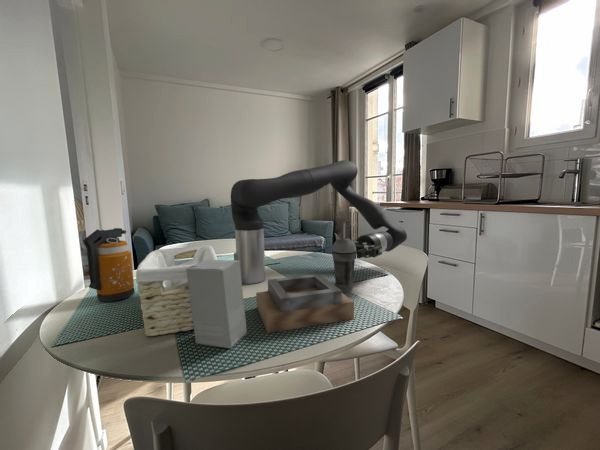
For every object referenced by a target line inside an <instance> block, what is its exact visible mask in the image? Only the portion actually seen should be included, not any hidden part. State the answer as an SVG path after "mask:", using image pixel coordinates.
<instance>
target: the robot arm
mask: <svg viewBox="0 0 600 450" xmlns="http://www.w3.org/2000/svg"><path fill="white" fill-rule="evenodd" d="M358 170H359V169H358V167H357V165H356V164H355V163H354V162H352V161H350V160H338V161H336V162H332V163H328V164H326V165H320V166H315V167H310V168H305V169H299V170H294V171H290V172H287V173H284V174H282V175H279V176H277V177H271V178H269V177H268V178H250V179H249V178H248V179H241V180H237V181H236V182H235V183H234V184H233V185H232V186H231V191H230V206H231V217H232V222H233V224H234V233H235V234H234V235H235V237H234V238H235V252H234V253H233V260H237V261H239V262H240V272H241V281H242V284H246V285H248V284H249V285H251V284H258V283H262V282H264V281H265V280H266V264H265V262H266V260H265V234H264V233H265V232H264V230H265V229H264V220H263V219H262V217H260V214H259V211H258V210H259V209H258V208H260V207H262V206H266V205H268V204H270V203H273V202H276V201H280V200H285V199H286V200H287V199H293V198H299V197H303V196H304V197H305V196H309V195H311V194H314V193H316V192H318V191H319V190H321V189H323V188H324V187H326V186H328V185H331V187H332V188H333V189H334V190H335V191H336V192H337V193H338V194H339V195H341V196H342V197H343V199H345V200H346V201H347V202H348V203H349V204H350V205H351V206H352V207H354V208H355V209H356V210H357V211H358V212H359V213H360V215H361V216H362V217H363V218H364V220H366V223H368V225H369V226H370V227H371V229H373V230H378V229H380V228H383V227H385V228H386V229H387V230H385V231H378V232H370V233H367V234H362V235H359V237H357V239H355V241H354V240H353V242H354V244H355V246H356V250H357V253H356V258H357V259H362V258H364V259H369V258H376V257H379V256H381V255H383V252H391V251H393V250H394V249H396V248H397V247H398V246H400V245H401V244H403V243H404V242H405V241H407V240H408V239H407V237H408V234H407V231H406V230H405V229H404V228H403V227H402V226H400V225H399V224H397V223H396V222H395V221H393V220H392V219H390V218H389V216H387V214H385V213H384V211H383V210H382V209H381V208H380V207H379V205H378V204H377V203H376V202H375V201H373V200H371V199H369V198H368V197H364V196H362V195H360V194H358V193H357V192H356V191H354V189H353V188H352V187H351V184H352V183H353V182H354V180H355V179H356V178H357V176H358V173H359V172H358Z"/></svg>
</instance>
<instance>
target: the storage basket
mask: <svg viewBox="0 0 600 450" xmlns="http://www.w3.org/2000/svg"><path fill="white" fill-rule="evenodd" d="M176 259H177V260H178V259H190V260H188V261H185V262H184V263H181V264H176V261H175V260H176ZM204 260H219V259H218V257H217V254H216V252H215V249H214V248H213V246H212V245H210V244H209V245H208V244H206V245H200V246H198V245H197V246H186V247H185V246H184V247H183V246H182V247H176V248H164V249H163V248H161V249H156V250H155V249H154V250H153V251H151V252H149V253H148V254H147V255H146V256H145V257H144V259H143V260H142V261H141V262H140V263H139V264H138V266H137V269H136V272H135V273H136V274H135V277H136V279H135V283H137V292H139V293H138V296H139V299H140V310H141V311H142V320H143V326H144V327H143V328H144V330H145V331H144V332H143V334H144V335H145V336H147V337H154V336H155V337H156V336H159V335H161V336H163V335H167V334H175V333H179V332H188V331H191V330H194V325H193V317H192V309H191V302H190V293H189V286H188V279H187V271H186V268H188V267H191V266H193V265H195V264H198V263H200V262H202V261H204Z"/></svg>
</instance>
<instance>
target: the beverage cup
mask: <svg viewBox="0 0 600 450" xmlns="http://www.w3.org/2000/svg"><path fill="white" fill-rule="evenodd" d="M342 224H343V230H342V231H343V233H342V235H343V236H342V237H339V238H337V239H336V240H335V241H334V242H333V245H332V247H331V254H332V259H333V268H334V279H335V286H336V287H337V288H339V289H340V290H342V293H350V292H351V291H352V289H353V285H354V284H353V283H354V272H355V262H356V258H357V254H356V253H357V250H356V246H355V244H354V240H352V239H350V238H349V237H346V222H343V223H342ZM352 292H353V291H352Z"/></svg>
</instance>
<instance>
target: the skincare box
mask: <svg viewBox="0 0 600 450" xmlns="http://www.w3.org/2000/svg"><path fill="white" fill-rule="evenodd" d="M186 271H187V279H188V286H189V293H190V302H191V309H192V317H193V325H194V329H193V332H194V339H195V344H197V345H205V346H210V347H211V346H212V347H217V348H218V347H219V348H225V349H231V348H233V346H235V345H236V344H237V343H238V341H240V340H241V339H242V338H243V337H244V336H246V334H247V332H248V331H247V320H246V319H247V318H246V311H245V310H246V309H245V302H244V294H243V283H242V281H241V272H240V262H239V261H237V260H234V259H233V260H232V259H231V260H229V259H227V260H225V259H224V260H223V259H218V260H204V261H202V262H200V263H198V264H195V265H193V266H191V267H188V268H186Z"/></svg>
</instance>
